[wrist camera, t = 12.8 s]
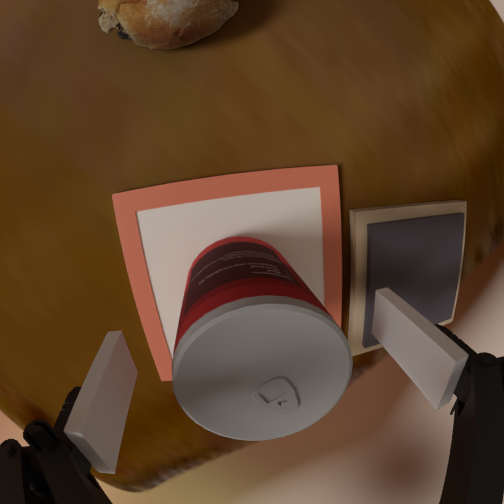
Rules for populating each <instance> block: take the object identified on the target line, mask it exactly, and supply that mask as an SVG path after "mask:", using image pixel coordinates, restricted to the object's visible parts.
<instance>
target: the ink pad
mask: <svg viewBox="0 0 504 504" xmlns="http://www.w3.org/2000/svg"><path fill="white" fill-rule="evenodd" d="M349 211H350V248H351V275H350V312H349V332H348V344H349V346H350V349H351V354H352V356H354V355H358V354H361V353H365V352H368V351H371V350H375V349H378V348H381V347H383V346H382V345H381V343H380V342H379V341H378V340H377V339H376V338H375V337H374V335H373V334H372V324H373V315H374V305H375V293H376V290H378V289H383V288H387V287H388V288H389V289H390V290H391V291H393V292H394V293H395V294H397V295H398V296H399V297H400V298H402V299H403V300H404V301H405V302H407V303H408V304H409V305H410V306H411V307H413V308H414V309H415V310H416V311H418V312H419V313H420V314H421V315H423V316H424V317H425V318H426V319H427V320H429V321H430V322H431V323H432V324H433V325H435V324H439V325H441V326H442V325H445V324H447V323H450V322H452V320H453V316H454V311H455V306H456V300H457V295H458V290H459V284H460V277H461V270H462V262H463V253H464V243H465V230H466V211H467V201H463V200H451V201H438V202H426V203H415V204H404V205H393V206H383V207H373V208H363V209H354V210H349Z"/></svg>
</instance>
